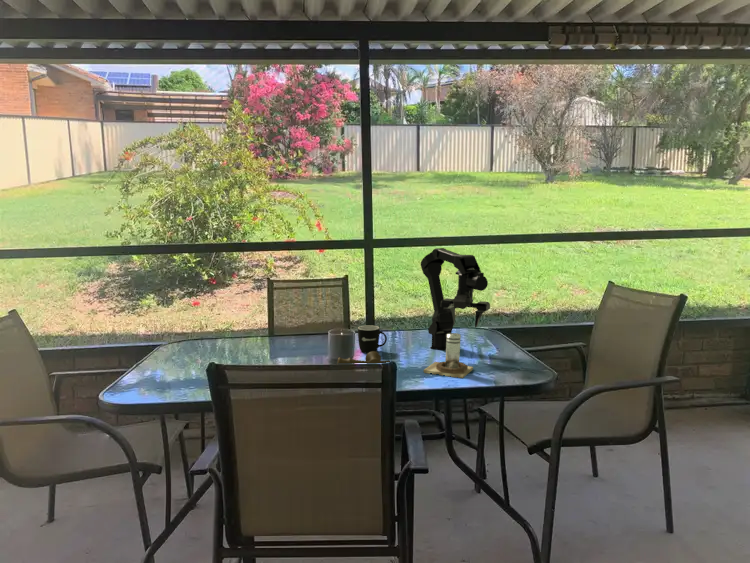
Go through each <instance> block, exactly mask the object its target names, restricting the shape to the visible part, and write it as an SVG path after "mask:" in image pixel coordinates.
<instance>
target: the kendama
mask: <svg viewBox="0 0 750 563" xmlns="http://www.w3.org/2000/svg"><path fill="white" fill-rule="evenodd" d="M390 361H391V360H382V357H381V354H380V353H379V352H377V351H376V352H375V351H372V352H369V353H366V355H365V359H364V360H361V359H353V358H351V357H348V358H342V357H338V358H337V364H338V363H382V364H387V363H386V362H390ZM390 363H391V362H390Z"/></svg>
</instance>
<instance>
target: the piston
mask: <svg viewBox="0 0 750 563" xmlns="http://www.w3.org/2000/svg"><path fill="white" fill-rule="evenodd" d="M446 338H447V340H446V349H445V360H444V362H445V368H452V369H453V368H459V362H460V353H461V352H460V351H461V334H460V333H456V332H452V333H447V337H446Z"/></svg>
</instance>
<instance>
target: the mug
mask: <svg viewBox="0 0 750 563" xmlns="http://www.w3.org/2000/svg"><path fill="white" fill-rule="evenodd" d="M380 334H382V335H383V336H384V338H385V339H384V342H383V343H381V344H380V343H379V341H380ZM357 338H358V339H357V341H358V346H359V350H360V352H361V353H363V354H368V353H369V352H372V351H375V352H377V351H378V349H379V348H381V347H383V346H385V344H386V343H387V341H388V337H387V335H386V333H385V332H383V331H381V330H380V327H379V326H377V325H372V324H371V325H360V326H358V327H357Z"/></svg>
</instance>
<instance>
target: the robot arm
mask: <svg viewBox="0 0 750 563" xmlns="http://www.w3.org/2000/svg"><path fill="white" fill-rule="evenodd" d="M445 262H447V263H449V264H453V266H454V268H455V269H457V271H456V272H455V274H454V275H456V276H457V275H458V276H457V277H458V279H457V280H458V281H457V283H458V284H457V291H456V295H455V296H454V298H448V297H447V298H444V294H443V293H444V292H443V289H442V284H441V278H440V275H441V272H442V270H443V269H442V267H443V264H444V263H445ZM420 268H421V270H422V273H423V275H424V276H425V277H426V279H427V281H428V286H429V292H430V297H431V301H432V306H433V314H432V316H431V325H429V327H428V328H427V329H428V330H427V331H428V334H429V335H431V346H430V348H429V349H433V350H441V351H446V340H447V338H446V337H447V333H453V328H454V326H455V324H456V323H455V322H456V309H461V310H464V309H466V308H473V309H476V310H475V311H474V312H475V319H474V327H475V328H477V327H478V325H479V323H480V320H481V318H482V317H483V316H482V315H483V314H484V313H485V312H487V311H489V310H490V309H491V303H490V302H489V301H483V300H481V301H480V300H479V301H478V302H474V299H473V298H474V291H480V292H483V291H484V290H486V289H487V287H488V285H489V281H488V279H487V278H486V276H484V275H485V274H484V272H482V270H481V267H480V266H479V264H478V261H477V259H476V257H475V255H473V254H460V253H457V252H455V251H451V250H448V249H446V248H445V247H443V248H442V247H439V248H437V247H436V248H434V249H433V250H432V251H431V252H430V253H428V254H427V255H424V257H423V258H422V260H421V261H420Z"/></svg>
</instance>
